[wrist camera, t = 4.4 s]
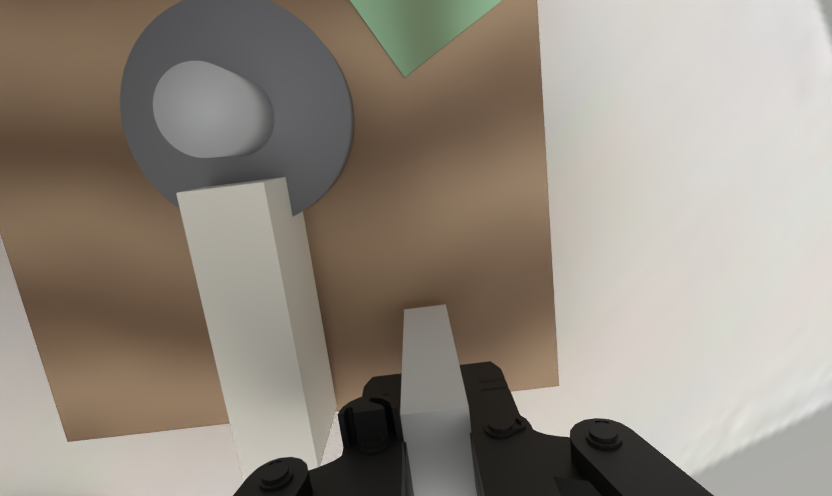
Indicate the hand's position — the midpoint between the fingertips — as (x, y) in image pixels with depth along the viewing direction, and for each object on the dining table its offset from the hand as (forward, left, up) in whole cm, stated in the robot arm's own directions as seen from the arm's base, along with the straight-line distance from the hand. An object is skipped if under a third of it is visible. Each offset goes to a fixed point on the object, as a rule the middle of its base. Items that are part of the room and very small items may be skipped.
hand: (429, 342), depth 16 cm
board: (-8, -5, -3) cm, 10 cm away
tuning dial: (-8, -5, -1) cm, 10 cm away
